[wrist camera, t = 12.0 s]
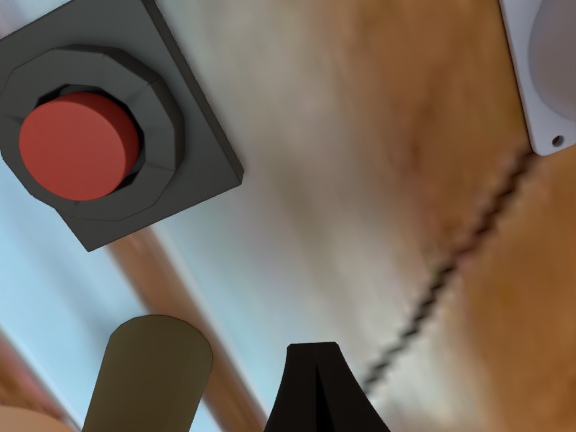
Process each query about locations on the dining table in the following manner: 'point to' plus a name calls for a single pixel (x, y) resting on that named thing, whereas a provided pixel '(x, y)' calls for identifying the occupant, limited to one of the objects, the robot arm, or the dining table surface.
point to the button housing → (131, 98)
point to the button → (79, 145)
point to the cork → (150, 377)
